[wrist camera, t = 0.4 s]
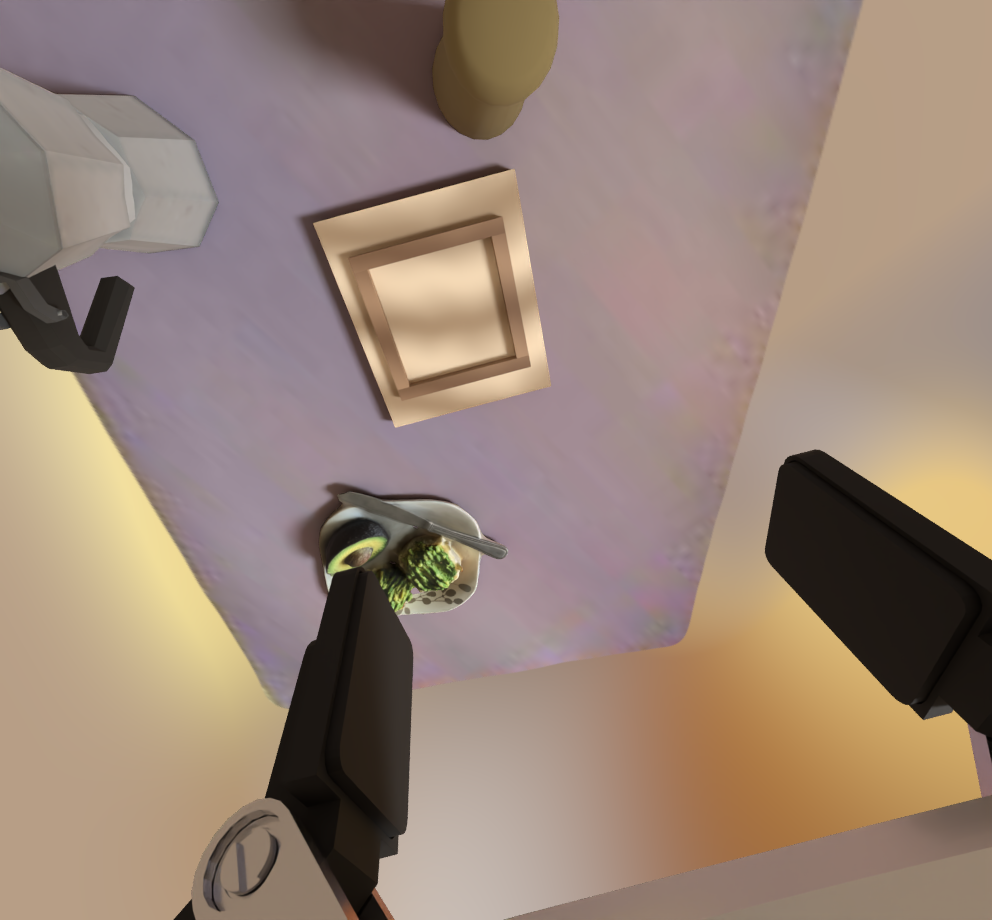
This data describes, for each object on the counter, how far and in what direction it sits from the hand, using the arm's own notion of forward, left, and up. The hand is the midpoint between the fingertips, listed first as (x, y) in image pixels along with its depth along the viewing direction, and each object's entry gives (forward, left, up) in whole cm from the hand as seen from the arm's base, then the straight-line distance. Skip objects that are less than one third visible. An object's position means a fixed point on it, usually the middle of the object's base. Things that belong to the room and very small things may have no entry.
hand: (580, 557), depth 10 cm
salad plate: (+23, -14, -29) cm, 40 cm away
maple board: (0, -2, -28) cm, 28 cm away
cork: (-13, +4, -29) cm, 32 cm away
